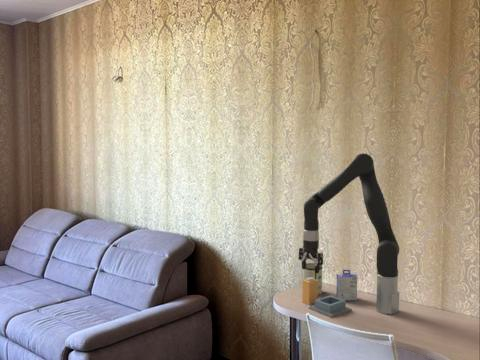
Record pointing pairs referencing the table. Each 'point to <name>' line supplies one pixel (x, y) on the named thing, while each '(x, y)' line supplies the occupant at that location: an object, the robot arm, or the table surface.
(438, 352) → the table surface
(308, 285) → the connector plug
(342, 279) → the ink cartridge box
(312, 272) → the coffee can
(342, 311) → the holder
